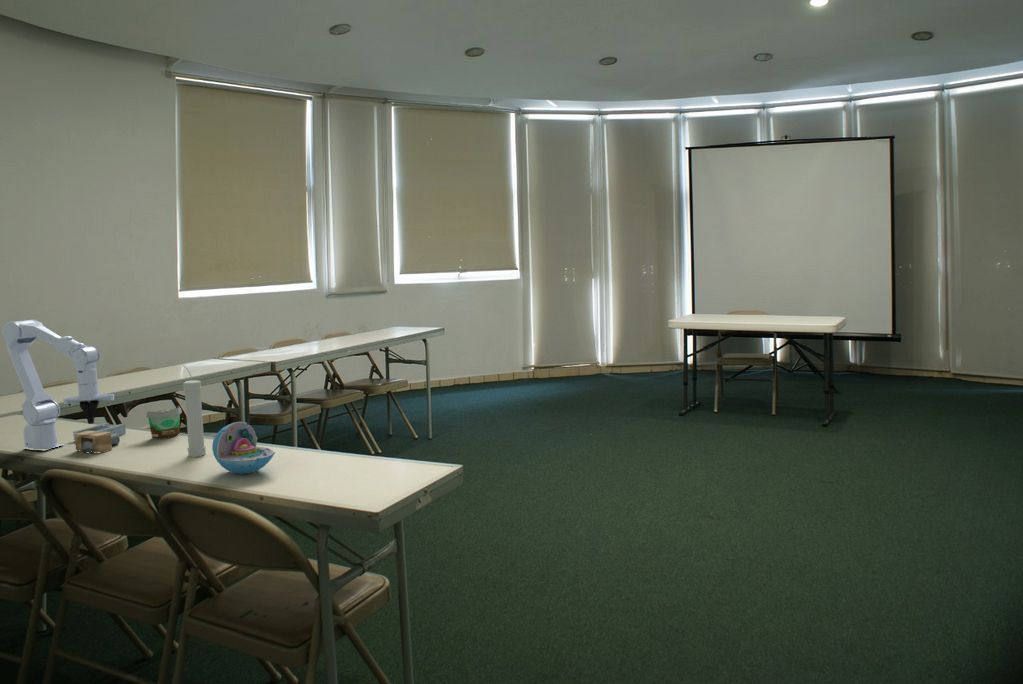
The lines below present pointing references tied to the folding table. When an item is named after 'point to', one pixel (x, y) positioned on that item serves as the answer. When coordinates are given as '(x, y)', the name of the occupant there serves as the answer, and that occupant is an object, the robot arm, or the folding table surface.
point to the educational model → (240, 449)
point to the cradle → (105, 429)
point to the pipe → (194, 417)
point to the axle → (88, 445)
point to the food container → (164, 423)
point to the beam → (94, 440)
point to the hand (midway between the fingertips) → (91, 423)
